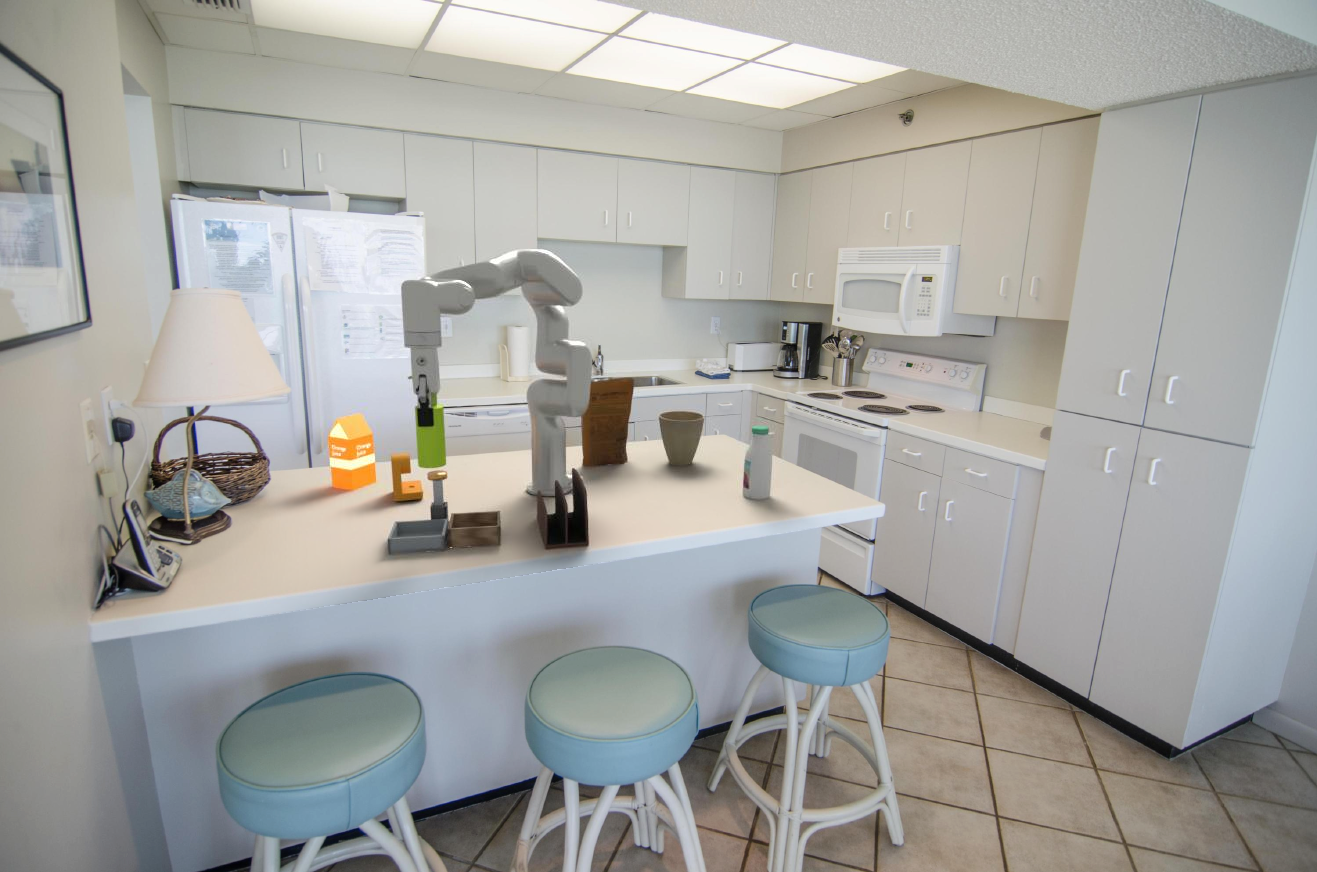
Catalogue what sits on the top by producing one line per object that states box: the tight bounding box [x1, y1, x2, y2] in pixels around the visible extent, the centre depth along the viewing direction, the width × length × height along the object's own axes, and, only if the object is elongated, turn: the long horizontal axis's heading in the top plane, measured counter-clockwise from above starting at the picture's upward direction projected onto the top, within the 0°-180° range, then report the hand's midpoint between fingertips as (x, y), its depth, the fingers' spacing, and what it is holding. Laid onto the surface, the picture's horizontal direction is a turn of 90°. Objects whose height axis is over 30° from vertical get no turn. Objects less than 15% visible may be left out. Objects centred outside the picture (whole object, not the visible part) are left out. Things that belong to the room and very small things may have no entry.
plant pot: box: [658, 410, 705, 467], centre depth 220 cm, size 15×15×16 cm
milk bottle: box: [742, 425, 773, 501], centre depth 188 cm, size 8×8×20 cm
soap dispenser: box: [407, 375, 447, 469], centre depth 146 cm, size 6×7×20 cm
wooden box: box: [447, 510, 502, 549], centre depth 155 cm, size 11×10×4 cm
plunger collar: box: [429, 501, 450, 527], centre depth 160 cm, size 5×5×6 cm
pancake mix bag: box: [580, 377, 635, 468], centre depth 215 cm, size 7×19×28 cm, turn 120°
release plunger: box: [426, 470, 448, 507], centre depth 159 cm, size 4×4×13 cm
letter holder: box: [536, 467, 590, 550], centre depth 159 cm, size 10×20×14 cm, turn 16°
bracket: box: [390, 453, 424, 502], centre depth 181 cm, size 11×7×12 cm, turn 22°
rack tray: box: [387, 518, 449, 555], centre depth 152 cm, size 12×11×4 cm
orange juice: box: [327, 412, 377, 491], centre depth 189 cm, size 8×9×20 cm
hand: (427, 422), depth 146 cm, fingers closed on soap dispenser, 5 cm apart
